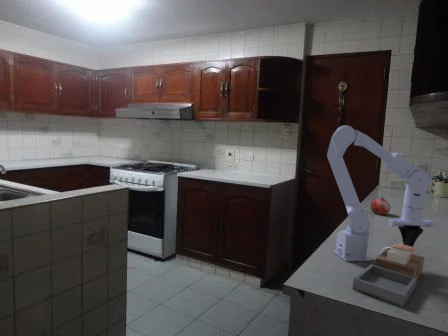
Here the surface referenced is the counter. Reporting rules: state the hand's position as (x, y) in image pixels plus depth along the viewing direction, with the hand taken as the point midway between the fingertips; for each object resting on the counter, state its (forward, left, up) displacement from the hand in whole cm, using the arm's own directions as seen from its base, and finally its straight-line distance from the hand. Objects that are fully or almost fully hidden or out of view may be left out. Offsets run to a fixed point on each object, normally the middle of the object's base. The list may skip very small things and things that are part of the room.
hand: (407, 248), depth 105 cm
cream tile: (-9, -7, -1) cm, 11 cm away
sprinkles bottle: (+8, +9, -4) cm, 13 cm away
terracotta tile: (-4, -3, -1) cm, 5 cm away
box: (-18, -14, -6) cm, 24 cm away
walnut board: (-7, -5, -6) cm, 10 cm away
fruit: (+37, +66, -6) cm, 76 cm away
